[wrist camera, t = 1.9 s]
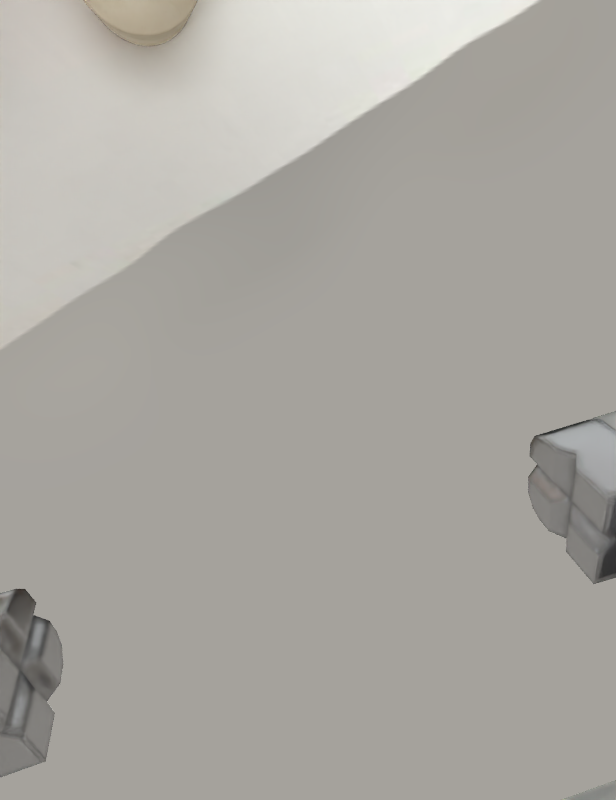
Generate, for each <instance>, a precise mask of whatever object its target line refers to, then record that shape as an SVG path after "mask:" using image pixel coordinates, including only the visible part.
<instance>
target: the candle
mask: <svg viewBox="0 0 616 800" xmlns="http://www.w3.org/2000/svg"><path fill="white" fill-rule="evenodd" d="M84 1H85V3H86V4H87V5H88V6H89V7H90V9H91V10H92V11H93V12H94V13H95V14H96V15H97V17H98V18H99V19H100V20H101V21H102V22H103V23H104V24H105V25H106V26H107V27H108V28H109V29H110V30H111V31H112V32H113V33H115V34H116V35H117V36H119V37H120V38H122V39H124V40H126V41H128V42H130V43H133V44H136V45H141V46H155V45H160V44H163V43H165V42H167V41H169V40H171V39H172V38H174V37H175V36H176V35H177V34H178V33H179V32H180V31H181V30H182V28H183V27H184V26H185V24H186V22H187V20H188V19H189V17H190V15H191V13H192V11H193V9H194V7H195V5H196V3H197V1H198V0H84Z"/></svg>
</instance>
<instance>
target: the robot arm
mask: <svg viewBox="0 0 616 800" xmlns="http://www.w3.org/2000/svg"><path fill="white" fill-rule="evenodd" d="M530 457H531V458H532V459H533V460H534V461H535V462H536V463H537V466H536V467H535V469H534V470H533V471H532V473H531V474H530V475H529V477H528V493H529V496H530V500H531V503H532V506H533V509H534V510H535V512H536V514H537V516H538V518H539V519H540V521H541V522H542V523H543V524H544V526H545V527H546V528H547V529H548V531H550V532H553V533H555V534H557V535H560V536H562V537H564V538H566V552H567V553H568V554H569V556H570V557H571V558H572V559H573V560H574V561H575V562H576V564H577V565H578V566H579V567H580V569H581V570H582V571H583V572H584V573H585V574H586V576H587V577H588V578H589V579H590V580H591V581H592V583H593V584H596V583H599V582H602V581H606V580H609V579H613V578H616V411H615V412H611V413H608V414H605V415H601V416H598V417H595V418H593V419H591V420H586V421H583V422H579V423H576V424H573V425H570V426H566V427H563V428H560V429H556V430H554V431H550V432H547V433H543V434H540V435H537V436H535V437H534V438H533V440H532V442H531V444H530ZM35 605H36V602H35V601H34V599H33V598H32V597H31V596H30V594H29V593H28V592H27V591H26V590H25V589H14V590H10V591H6V592H3V593H0V777H3V776H5V775H8V774H11V773H14V772H17V771H20V770H22V769H25V768H28V767H31V766H34V765H37V764H39V763H42V762H45V761H46V757H47V752H48V746H49V741H50V736H51V730H52V725H53V720H54V714H55V713H54V711H53V710H52V708H51V707H50V705H49V704H48V703H47V701H48V699H49V698H50V696H51V695H52V694H53V692H54V691H55V690H56V688H57V687H58V686H59V684H60V681H61V674H62V669H63V658H62V657H63V656H62V645H61V642H60V639H59V636H58V634H57V631H56V630H55V628H54V627H53V625H52V624H51V623H50V621H48V620H46V619H42V618H40V617H37V616H34V615H33V613H34V610H35ZM563 800H616V780H615V781H612V782H610V783H607V784H604V785H601V786H598V787H596V788H593V789H590V790H587V791H585V792H582V793H579V794H576V795H574V796H571V797H568V798H565V799H563Z"/></svg>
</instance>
